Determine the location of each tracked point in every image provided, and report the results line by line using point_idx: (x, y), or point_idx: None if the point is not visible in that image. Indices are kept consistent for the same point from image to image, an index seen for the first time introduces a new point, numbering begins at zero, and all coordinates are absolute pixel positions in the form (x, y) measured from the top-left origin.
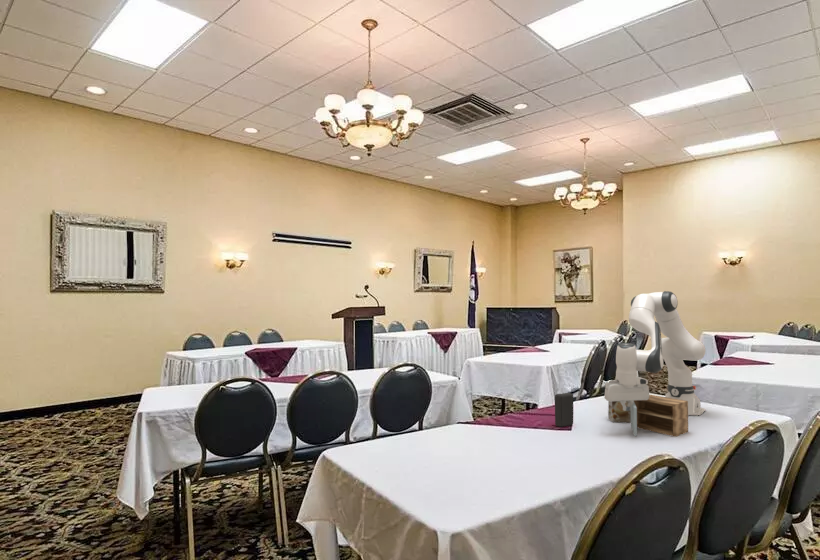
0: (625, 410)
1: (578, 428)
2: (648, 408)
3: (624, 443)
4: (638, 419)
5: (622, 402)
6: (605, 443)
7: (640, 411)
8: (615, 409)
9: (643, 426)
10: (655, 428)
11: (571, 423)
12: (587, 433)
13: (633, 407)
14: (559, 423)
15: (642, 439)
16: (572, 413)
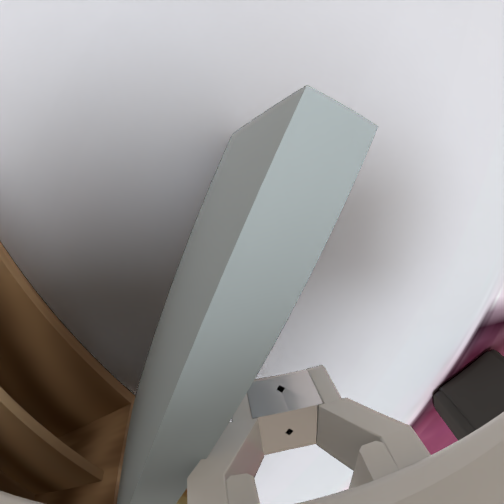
0: (319, 365)
1: (447, 345)
2: (21, 482)
3: (379, 40)
4: (90, 437)
5: (412, 447)
6: (465, 75)
7: (69, 458)
8: None
9: (80, 371)
10: (22, 325)
11: (449, 387)
12: (465, 262)
13: (347, 189)
14: (500, 355)
15: (204, 101)
16: (468, 419)
